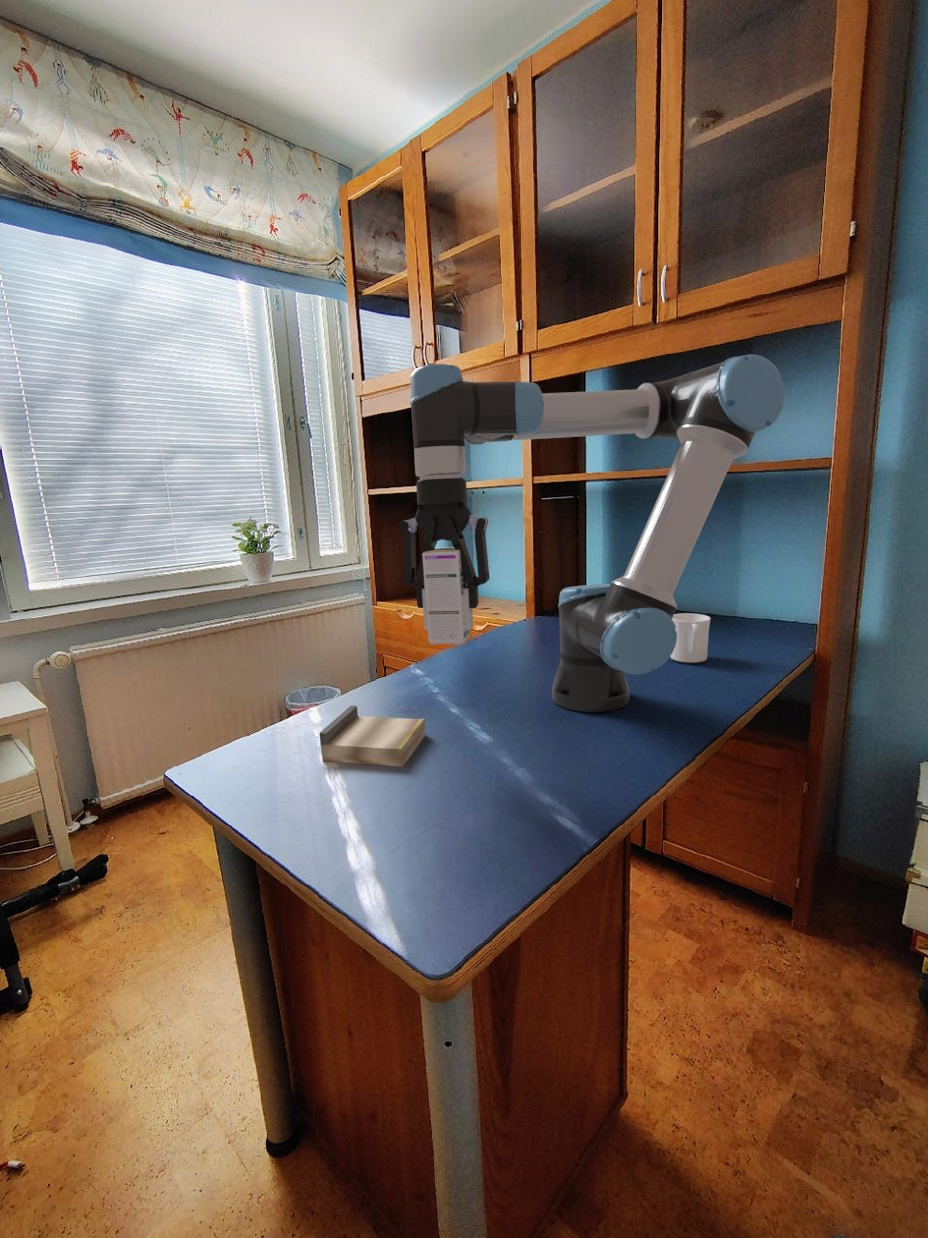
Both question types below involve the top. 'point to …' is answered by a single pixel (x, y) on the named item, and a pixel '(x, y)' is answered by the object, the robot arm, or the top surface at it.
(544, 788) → the top surface
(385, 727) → the dock
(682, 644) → the mug
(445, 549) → the syrup box
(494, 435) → the robot arm
